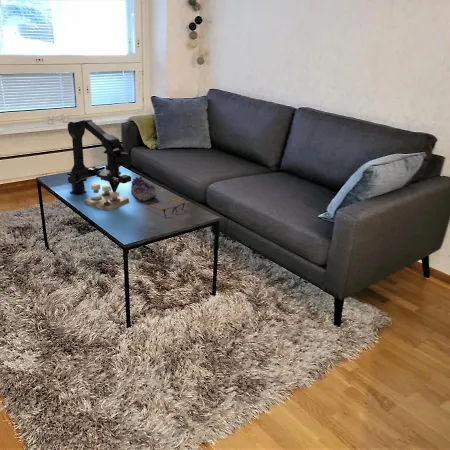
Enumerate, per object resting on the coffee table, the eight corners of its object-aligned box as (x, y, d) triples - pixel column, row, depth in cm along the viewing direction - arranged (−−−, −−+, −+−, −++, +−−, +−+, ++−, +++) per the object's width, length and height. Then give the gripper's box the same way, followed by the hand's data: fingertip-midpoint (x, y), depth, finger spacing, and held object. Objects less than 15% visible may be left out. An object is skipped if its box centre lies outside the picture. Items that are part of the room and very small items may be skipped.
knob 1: (89, 192, 238) (89, 185, 236) (95, 190, 242) (95, 182, 240) (96, 194, 236) (95, 186, 234) (102, 191, 240) (102, 184, 238)
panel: (84, 203, 239) (84, 199, 238) (106, 195, 252) (105, 191, 251) (108, 210, 232) (108, 206, 231) (128, 201, 245) (128, 197, 244)
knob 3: (108, 199, 239) (108, 192, 237) (114, 197, 242) (114, 189, 241) (115, 201, 237) (114, 194, 235) (121, 198, 240) (120, 191, 239)
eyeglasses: (164, 217, 229) (164, 209, 228) (146, 208, 238) (146, 201, 237) (185, 210, 239) (185, 203, 238) (167, 202, 248) (167, 195, 246)
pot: (103, 204, 233) (103, 197, 232) (106, 203, 235) (106, 195, 233) (107, 205, 232) (106, 198, 231) (110, 204, 234) (110, 196, 232)
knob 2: (100, 193, 246) (100, 186, 244) (106, 191, 249) (106, 184, 248) (107, 195, 244) (106, 188, 242) (113, 193, 247) (112, 186, 246)
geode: (123, 192, 258) (124, 174, 255) (142, 191, 265) (143, 174, 262) (139, 202, 243) (140, 184, 240) (158, 201, 250) (160, 183, 247)
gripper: (87, 163, 229) (89, 192, 235) (116, 170, 221) (118, 200, 227) (103, 158, 238) (104, 186, 244) (131, 165, 230) (132, 194, 237)
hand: (114, 191), depth 238 cm, fingers closed, pressing on knob 3
